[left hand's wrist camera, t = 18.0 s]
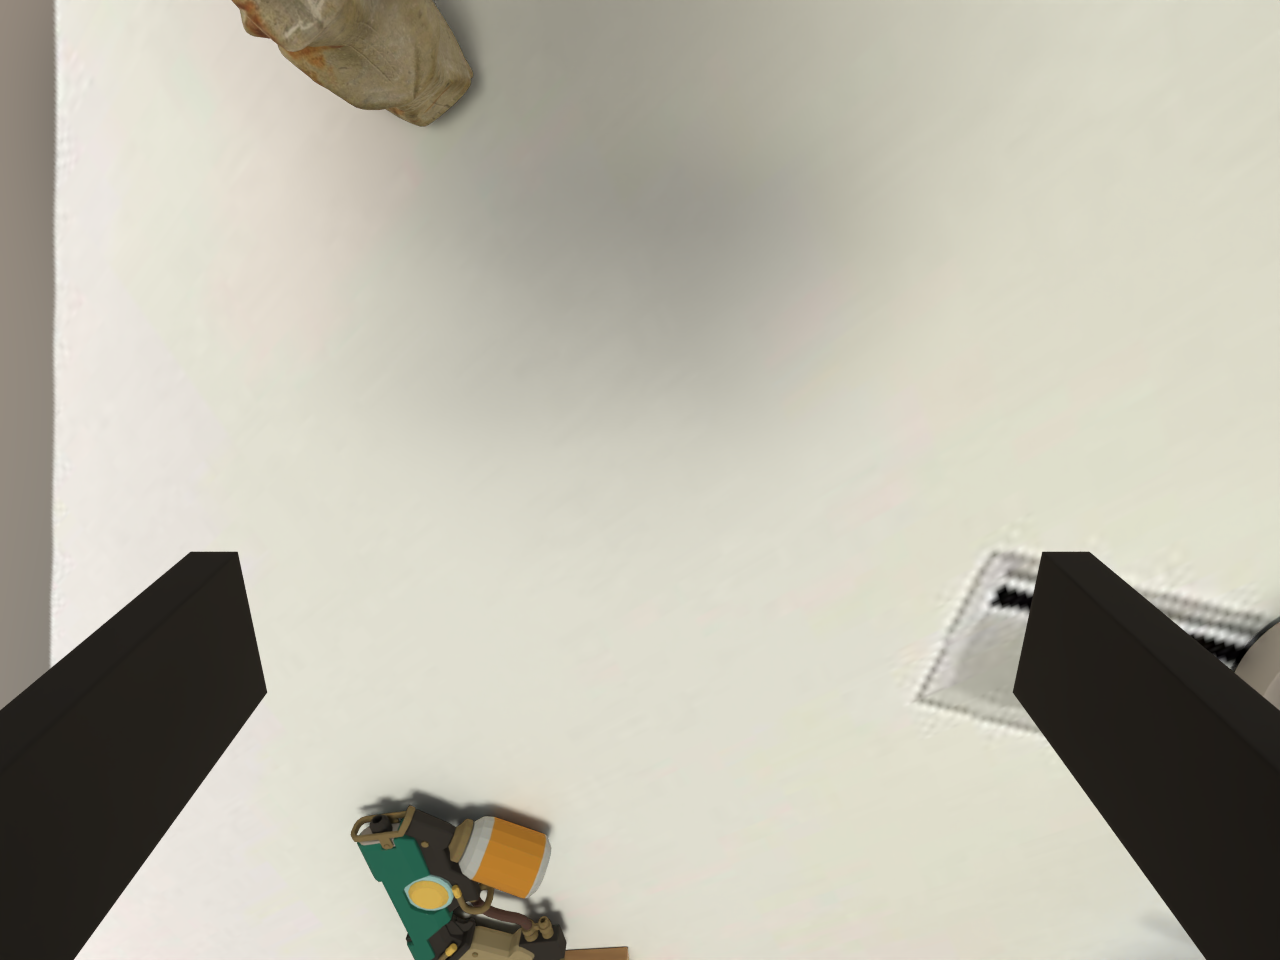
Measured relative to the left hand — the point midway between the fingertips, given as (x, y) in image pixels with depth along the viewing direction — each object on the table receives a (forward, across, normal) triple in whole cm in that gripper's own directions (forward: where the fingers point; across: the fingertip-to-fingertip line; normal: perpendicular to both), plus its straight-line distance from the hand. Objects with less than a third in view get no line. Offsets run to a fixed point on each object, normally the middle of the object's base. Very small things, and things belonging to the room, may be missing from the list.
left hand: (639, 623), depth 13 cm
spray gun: (+32, -13, -42) cm, 54 cm away
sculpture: (+32, -11, +13) cm, 36 cm away
